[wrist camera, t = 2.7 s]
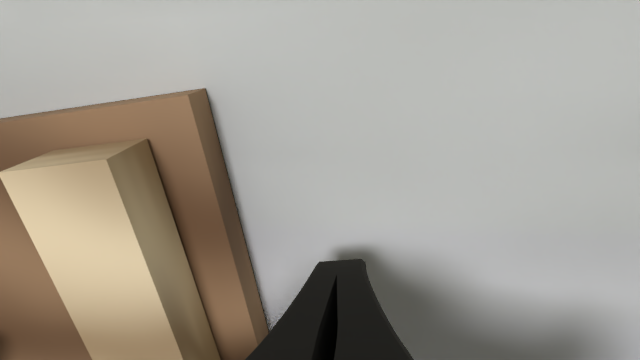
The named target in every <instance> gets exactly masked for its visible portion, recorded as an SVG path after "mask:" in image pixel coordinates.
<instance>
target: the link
mask: <svg viewBox="0 0 640 360" xmlns="http://www.w3.org/2000/svg"><path fill="white" fill-rule="evenodd" d="M0 178H1V180H2V182H3V184H4V186H5V188H6V190H7V192H8V194H9V196H10V198H11V200H12V202H13V204H14V206H15V208H16V210H17V212H18V214H19V216H20V218H21V220H22V222H23V223H24V225H25V227H26V229H27V231H28V233H29V235H30V237H31V239H32V241H33V243H34V245H35V247H36V249H37V251H38V253H39V255H40V257H41V259H42V261H43V263H44V265H45V267H46V269H47V271H48V273H49V275H50V277H51V279H52V281H53V283H54V285H55V287H56V289H57V291H58V293H59V295H60V297H61V299H62V301H63V303H64V305H65V307H66V309H67V311H68V313H69V315H70V317H71V318H72V320H73V322H74V324H75V326H76V328H77V330H78V332H79V334H80V336H81V338H82V340H83V342H84V344H85V346H86V348H87V350H88V352H89V354H90V356H91V358H92V360H221V359H220V356H219V353H218V350H217V347H216V344H215V341H214V338H213V335H212V332H211V329H210V326H209V323H208V320H207V317H206V314H205V311H204V308H203V305H202V302H201V299H200V296H199V293H198V290H197V287H196V285H195V282H194V279H193V276H192V273H191V270H190V267H189V264H188V261H187V258H186V255H185V252H184V249H183V246H182V243H181V240H180V237H179V234H178V231H177V228H176V225H175V222H174V219H173V216H172V213H171V210H170V207H169V204H168V201H167V198H166V195H165V192H164V189H163V186H162V183H161V180H160V177H159V174H158V171H157V168H156V165H155V162H154V159H153V156H152V153H151V150H150V147H149V144H148V141H147V138H146V139H138V140H131V141H123V142H115V143H108V144H100V145H92V146H85V147H77V148H69V149H62V150H54V151H51V152H48V153H46V154H43V155H41V156H38V157H36V158H33V159H31V160H28V161H26V162H23V163H21V164H18V165H16V166H13V167H11V168H8V169H6V170H3V171H1V172H0Z"/></svg>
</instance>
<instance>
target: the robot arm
mask: <svg viewBox="0 0 640 360" xmlns="http://www.w3.org/2000/svg"><path fill="white" fill-rule="evenodd" d="M245 360H414V359H413V358H412V356H411V355H410V354H409V352H408V351H407V349H406V348H405V347H404V345H403V344H402V342H401V341H400V339H399V337H398V336H397V334H396V333H395V331H394V329H393V328H392V326H391V324H390V323H389V321H388V319H387V318H386V316H385V314H384V312H383V310H382V308H381V306H380V304H379V302H378V300H377V298H376V296H375V294H374V292H373V289H372V287H371V284H370V281H369V279H368V276H367V272H366V264H365V262H364V261H363V260H362V259H354V260H339V261H325V262H319V263H318V264H317V265H316V267H315V268H314V270H313V272H312V273H311V275H310V277H309V278H308V280H307V281H306V283H305V285H304V286H303V288H302V289H301V291H300V292H299V294H298V295H297V296H296V298H295V299H294V301H293V302H292V304H291V305H290V306H289V308H288V309H287V311H286V312H285V313H284V315H283V316H282V317H281V318H280V320H279V321H278V322H277V323H276V325H275V326H274V327H273V328H272V330H271V331H270V332H269V333H268V335H267V336H266V337H265V338H264V339H263V340H262V342H261V343H260V344H259V345H258V346H257V347H256V348H255V349H254V350H253V352H252V353H251V354H250V355H249V356H248V357H247V358H246V359H245Z"/></svg>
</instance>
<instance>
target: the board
mask: <svg viewBox="0 0 640 360" xmlns="http://www.w3.org/2000/svg"><path fill="white" fill-rule="evenodd" d="M146 138H147V141H148V144H149V147H150V150H151V153H152V156H153V159H154V162H155V165H156V168H157V171H158V174H159V177H160V180H161V183H162V186H163V189H164V192H165V195H166V198H167V201H168V204H169V207H170V210H171V213H172V216H173V219H174V222H175V225H176V228H177V231H178V234H179V237H180V240H181V243H182V246H183V249H184V252H185V255H186V258H187V261H188V264H189V267H190V270H191V273H192V276H193V279H194V282H195V285H196V287H197V290H198V293H199V296H200V299H201V302H202V305H203V308H204V311H205V314H206V317H207V320H208V323H209V326H210V329H211V332H212V335H213V338H214V341H215V344H216V347H217V350H218V353H219V356H220V359H221V360H245V359H246V358H247V357H248V356H249V355H250V354H251V353H252V352H253V350H254V349H255V348H256V347H257V346H258V345H259V344H260V343H261V342H262V340H263V339H264V338H265V337H266V336H267V335H268V333H269V331H268V328H267V324H266V320H265V316H264V312H263V308H262V305H261V301H260V297H259V293H258V289H257V285H256V282H255V278H254V274H253V270H252V266H251V262H250V259H249V255H248V251H247V247H246V243H245V239H244V236H243V232H242V228H241V224H240V220H239V216H238V213H237V209H236V205H235V201H234V197H233V193H232V190H231V186H230V182H229V178H228V174H227V170H226V167H225V163H224V159H223V155H222V151H221V147H220V144H219V140H218V136H217V132H216V128H215V124H214V121H213V117H212V113H211V109H210V105H209V101H208V98H207V94H206V90H205V88H203V89H197V90H190V91H183V92H176V93H170V94H163V95H156V96H149V97H143V98H136V99H129V100H122V101H116V102H109V103H102V104H95V105H89V106H82V107H75V108H68V109H62V110H55V111H48V112H41V113H35V114H28V115H21V116H14V117H8V118H1V119H0V172H1V171H3V170H6V169H8V168H11V167H13V166H16V165H18V164H21V163H23V162H26V161H28V160H31V159H33V158H36V157H38V156H41V155H43V154H46V153H48V152H51V151H54V150H62V149H69V148H77V147H85V146H92V145H100V144H108V143H115V142H123V141H131V140H138V139H146ZM0 360H92V358H91V356H90V354H89V352H88V350H87V348H86V346H85V344H84V342H83V340H82V338H81V336H80V334H79V332H78V330H77V328H76V326H75V324H74V322H73V320H72V318H71V317H70V315H69V313H68V311H67V309H66V307H65V305H64V303H63V301H62V299H61V297H60V295H59V293H58V291H57V289H56V287H55V285H54V283H53V281H52V279H51V277H50V275H49V273H48V271H47V269H46V267H45V265H44V263H43V261H42V259H41V257H40V255H39V253H38V251H37V249H36V247H35V245H34V243H33V241H32V239H31V237H30V235H29V233H28V231H27V229H26V227H25V225H24V223H23V222H22V220H21V218H20V216H19V214H18V212H17V210H16V208H15V206H14V204H13V202H12V200H11V198H10V196H9V194H8V192H7V190H6V188H5V186H4V184H3V182H2V180H1V178H0Z"/></svg>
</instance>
